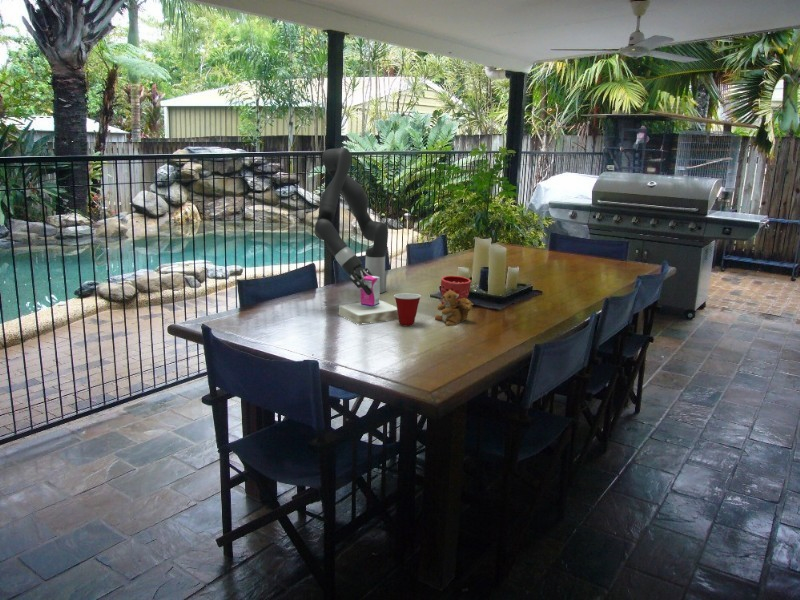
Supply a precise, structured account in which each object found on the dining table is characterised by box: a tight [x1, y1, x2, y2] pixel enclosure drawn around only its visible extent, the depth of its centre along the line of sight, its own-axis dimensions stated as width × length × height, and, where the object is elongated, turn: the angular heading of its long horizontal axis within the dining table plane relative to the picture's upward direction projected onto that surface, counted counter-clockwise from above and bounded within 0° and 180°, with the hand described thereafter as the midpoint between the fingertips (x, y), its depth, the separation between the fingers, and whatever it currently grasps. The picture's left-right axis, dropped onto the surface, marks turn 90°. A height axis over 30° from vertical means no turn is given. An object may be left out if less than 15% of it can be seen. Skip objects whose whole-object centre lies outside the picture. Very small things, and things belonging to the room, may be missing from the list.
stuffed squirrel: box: [434, 290, 474, 327], centre depth 265 cm, size 10×14×13 cm
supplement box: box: [360, 275, 381, 307], centre depth 266 cm, size 6×6×12 cm
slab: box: [338, 299, 399, 325], centre depth 268 cm, size 20×16×4 cm
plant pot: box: [440, 275, 472, 304], centre depth 291 cm, size 13×13×12 cm
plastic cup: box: [393, 292, 422, 327], centre depth 259 cm, size 11×11×12 cm
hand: (373, 292), depth 266 cm, fingers closed on supplement box, 6 cm apart
